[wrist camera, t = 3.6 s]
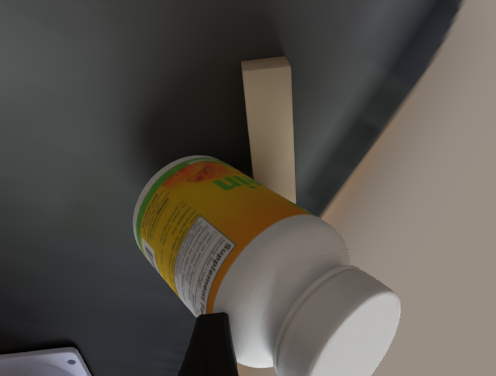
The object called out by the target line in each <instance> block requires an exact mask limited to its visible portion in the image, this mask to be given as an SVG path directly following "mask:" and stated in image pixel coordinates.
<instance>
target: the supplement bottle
mask: <svg viewBox="0 0 496 376" xmlns="http://www.w3.org/2000/svg"><path fill="white" fill-rule="evenodd" d="M133 230H134V235H135V239H136V242H137V244H138V246H139V248H140V249H141V251H142V252H143V254H144V255H145V256H146V258H147V259H148V260H149V262H150V263H151V264H152V265H153V267H154V268H155V269H156V270H157V271H158V272H159V274H160V275H161V276H162V277H163V278H164V280H165V281H166V282H167V283H168V284H169V286H170V287H171V288H172V289H173V290H174V292H175V293H176V294H177V295H178V296H179V298H180V299H181V300H182V301H183V303H184V304H185V305H186V306H187V307H188V308H189V309H190V311H191V312H192V313H193V314H194V315H195V317H196V318H197V317H198V316H199V315H200V314H210V313H219V312H225V313H227V314H228V315H229V322H230V329H231V335H232V341H233V346H234V351H235V356H236V359H237V362H239V363H241V364H243V365H246V366H249V367H255V368H267V367H273V366H274V369H275V371H276V373H277V374H278V375H279V376H371V374H372V373H373V371H374V370H375V369H376V368H377V366H378V365H379V363H380V362H381V360H382V358H383V357H384V355H385V354H386V352H387V350H388V348H389V346H390V344H391V342H392V340H393V338H394V335H395V333H396V330H397V327H398V323H399V320H400V312H401V304H400V300H399V297H398V296H397V294H396V293H395V292H394V291H392V290H391V289H390V288H388V287H387V286H385V285H384V284H382V283H381V282H380V281H378V280H376V279H375V278H374V277H372V276H370V275H369V274H367V273H366V272H364V271H362V270H360V269H359V268H358V267H355V266H352V265H350V258H349V252H348V249H347V247H346V244H345V242H344V240H343V238H342V237H341V235H340V234H339V233H338V231H336V229H335V228H333V227H332V226H331V225H329V224H327V223H326V222H325V221H323V220H322V219H320V218H319V217H317V216H315V215H314V214H312V213H310V212H308V211H307V210H305V209H303V208H301V207H300V206H298V205H296V204H295V203H293V202H291V201H289V200H288V199H286V198H284V197H283V196H281V195H279V194H277V193H276V192H274V191H272V190H270V189H269V188H267V187H265V186H264V185H262V184H260V183H258V182H257V181H255V180H253V179H252V178H250V177H248V176H247V175H245V174H243V173H242V172H240V171H238V170H237V169H235V168H233V167H232V166H230V165H228V164H226V163H224V162H223V161H221V160H218V159H216V158H214V157H210V156H204V155H194V156H188V157H184V158H181V159H178V160H176V161H173V162H172V163H170V164H168V165H167V166H165V167H163V168H162V169H161V170H159V171H158V172H157V173H156V174H155V175H154V176H153V177H152V178H151V179H150V180H149V182H148V183H147V184H146V186H145V187H144V189H143V191H142V192H141V194H140V196H139V198H138V201H137V203H136V206H135V210H134V215H133Z"/></svg>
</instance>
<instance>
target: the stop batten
mask: <svg viewBox="0 0 496 376" xmlns="http://www.w3.org/2000/svg"><path fill="white" fill-rule="evenodd" d="M241 67H242V77H243V86H244V96H245V106H246V115H247V125H248V134H249V144H250V153H251V163H252V172H253V180H255V181H257V182H258V183H260V184H262V185H264V186H265V187H267V188H269V189H270V190H272V191H274V192H276V193H277V194H279V195H281V196H283V197H284V198H286V199H288V200H289V201H291V202H293V203H295V204H296V191H295V165H294V138H293V111H292V85H291V66H290V64H289V62H288V60H287V59H286V57H285V56H282V57H273V58H264V59H256V60H247V61H241Z"/></svg>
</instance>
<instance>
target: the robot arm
mask: <svg viewBox="0 0 496 376" xmlns="http://www.w3.org/2000/svg"><path fill="white" fill-rule="evenodd" d="M0 376H91V374H90V372H89V370H88V368H87V366H86V365H85V363H84V361H83V359H82V357H81V355H80V353H79V352H78V350H77V349H75V348H73V347H65V348H56V349H47V350H39V351H30V352H21V353H12V354H4V355H0ZM178 376H239V375H238V370H237V359H236V356H235V351H234V346H233V341H232V335H231V329H230V322H229V315H228V314H227V313H225V312H219V313H210V314H200V315H199V316H198V317H197V319H196V323H195V327H194V331H193V334H192V337H191V341H190V344H189V347H188V350H187V352H186V355H185V358H184V361H183V363H182V366H181V369H180V371H179V374H178Z"/></svg>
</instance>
